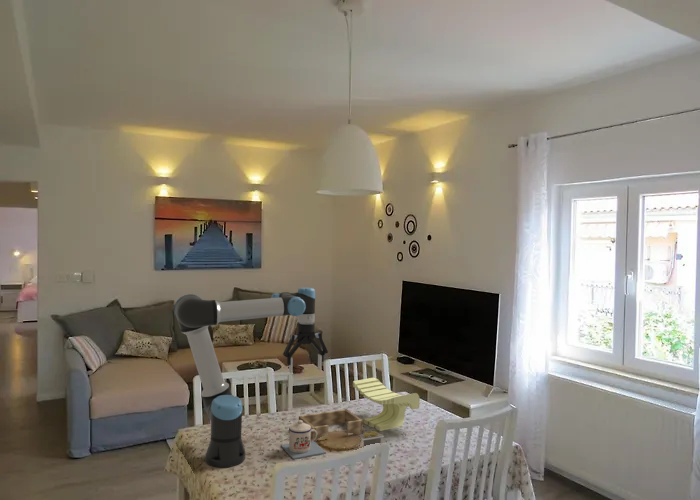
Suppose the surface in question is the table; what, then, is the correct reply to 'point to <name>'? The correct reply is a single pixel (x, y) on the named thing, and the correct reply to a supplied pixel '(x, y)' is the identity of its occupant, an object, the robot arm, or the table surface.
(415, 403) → the slatted curved stool
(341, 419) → the open enclosure
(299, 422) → the teacup with lid
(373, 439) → the platform
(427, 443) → the table surface
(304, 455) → the mat
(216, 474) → the table surface
